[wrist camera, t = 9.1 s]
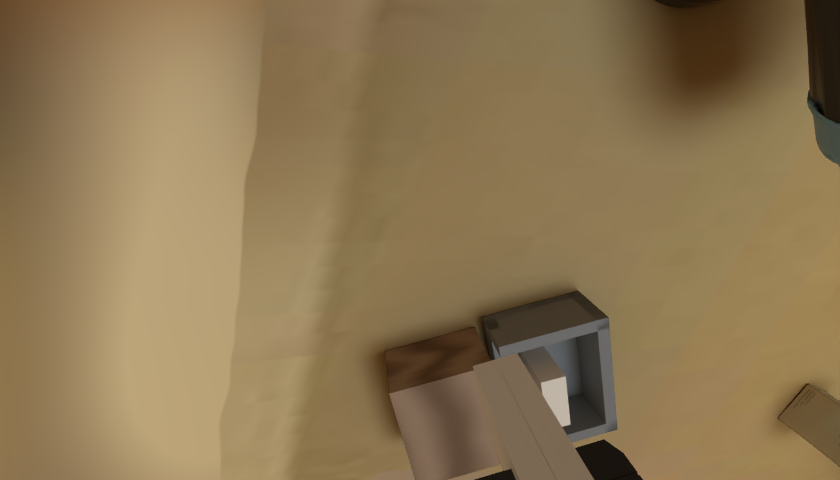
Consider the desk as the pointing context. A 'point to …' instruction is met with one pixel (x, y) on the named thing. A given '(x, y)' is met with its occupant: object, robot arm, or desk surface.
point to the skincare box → (816, 420)
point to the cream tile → (548, 381)
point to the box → (565, 354)
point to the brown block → (441, 405)
